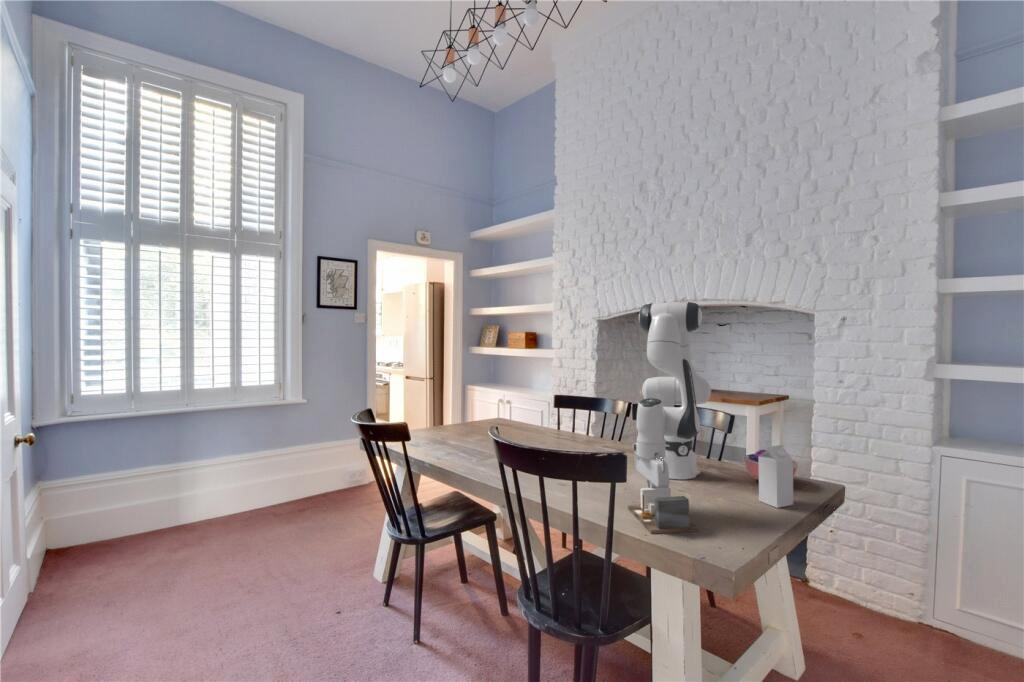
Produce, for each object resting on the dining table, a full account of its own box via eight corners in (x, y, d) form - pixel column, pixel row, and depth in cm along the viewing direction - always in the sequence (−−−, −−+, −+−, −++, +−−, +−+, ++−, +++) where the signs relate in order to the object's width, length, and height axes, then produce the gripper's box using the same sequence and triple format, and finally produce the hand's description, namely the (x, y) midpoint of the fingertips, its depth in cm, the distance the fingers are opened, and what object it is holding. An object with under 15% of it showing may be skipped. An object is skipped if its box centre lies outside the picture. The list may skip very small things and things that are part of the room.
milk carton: (758, 501, 160) (758, 444, 160) (774, 498, 162) (773, 442, 162) (777, 508, 153) (776, 449, 153) (793, 505, 156) (792, 446, 155)
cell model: (773, 492, 168) (773, 460, 168) (732, 476, 187) (732, 447, 187) (811, 487, 173) (811, 456, 172) (767, 472, 192) (767, 444, 192)
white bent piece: (640, 509, 152) (639, 488, 152) (668, 507, 153) (667, 486, 152) (650, 519, 143) (650, 497, 143) (679, 518, 144) (679, 495, 144)
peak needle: (641, 515, 146) (640, 494, 146) (650, 515, 146) (649, 494, 146) (642, 516, 145) (641, 495, 145) (651, 516, 145) (650, 494, 145)
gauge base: (627, 508, 156) (627, 480, 156) (669, 505, 158) (668, 478, 158) (651, 533, 137) (650, 502, 136) (698, 530, 138) (697, 499, 138)
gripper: (674, 458, 144) (675, 504, 144) (648, 442, 164) (649, 482, 164) (653, 459, 143) (654, 505, 143) (630, 443, 163) (631, 483, 164)
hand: (651, 493), depth 154 cm, fingers closed
